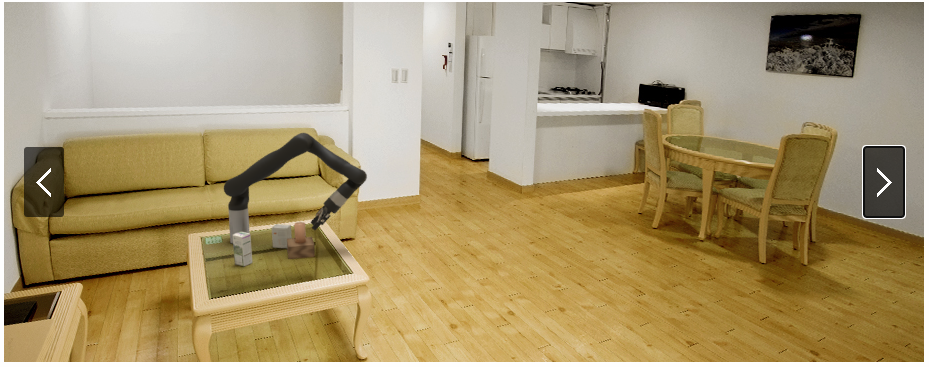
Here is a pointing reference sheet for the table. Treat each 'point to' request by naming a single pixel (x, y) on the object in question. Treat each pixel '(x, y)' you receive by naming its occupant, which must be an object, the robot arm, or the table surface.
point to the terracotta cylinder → (300, 232)
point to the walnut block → (300, 248)
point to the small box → (281, 235)
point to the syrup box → (242, 248)
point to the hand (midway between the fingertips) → (312, 226)
